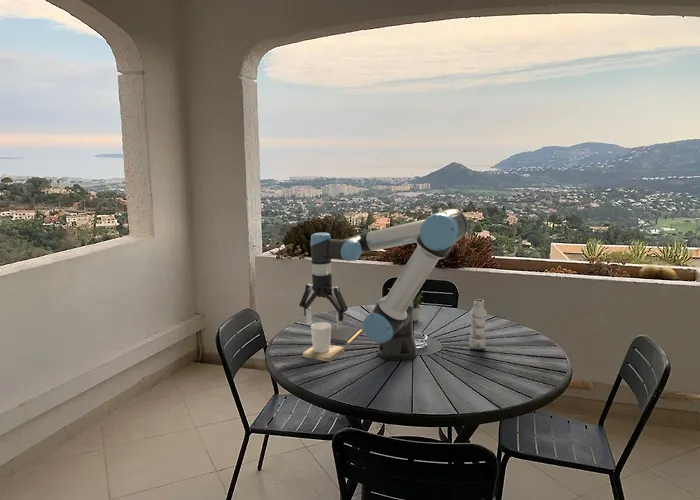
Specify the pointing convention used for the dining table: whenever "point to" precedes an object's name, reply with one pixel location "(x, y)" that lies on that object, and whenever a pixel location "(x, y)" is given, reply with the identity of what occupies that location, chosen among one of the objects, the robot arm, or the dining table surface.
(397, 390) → the dining table surface
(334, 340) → the black book
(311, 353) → the oak coaster board
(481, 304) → the plastic bottle
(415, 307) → the house plant
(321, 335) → the white cup
